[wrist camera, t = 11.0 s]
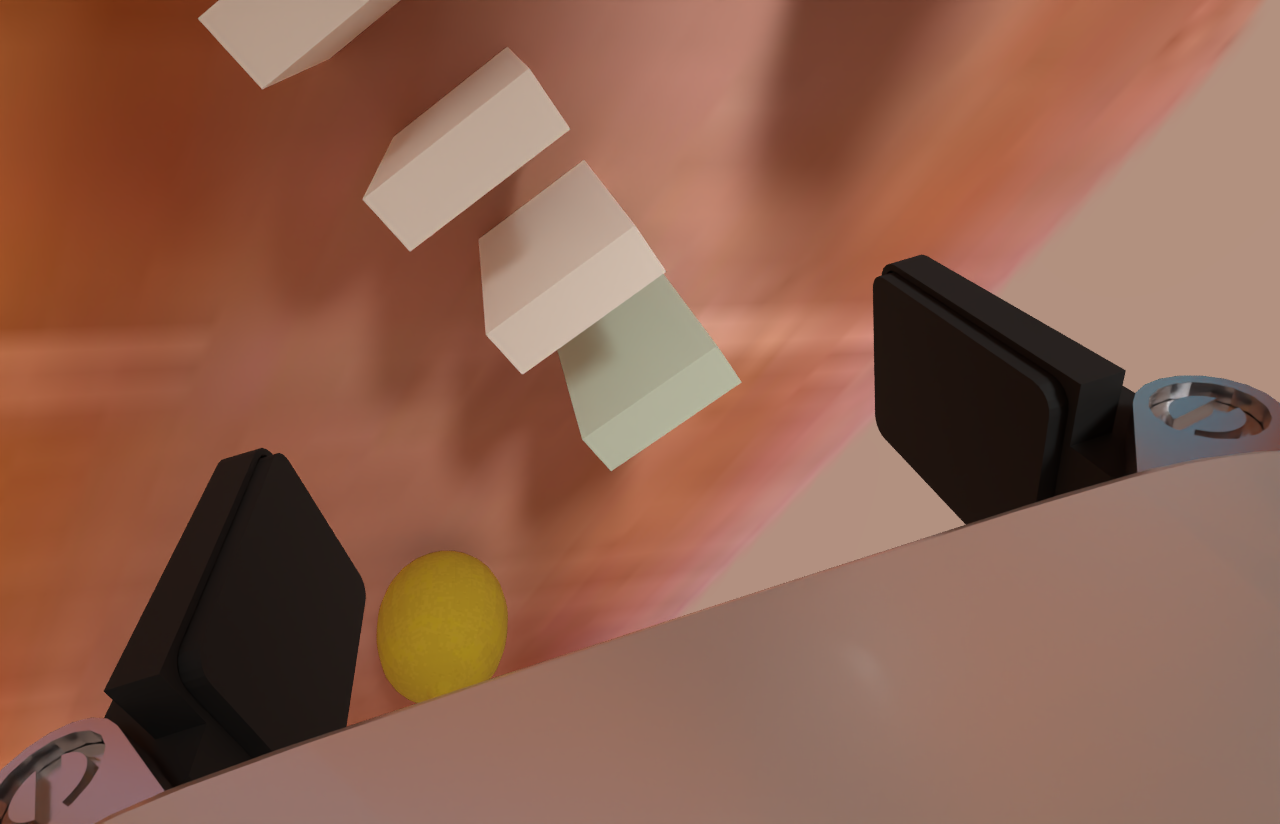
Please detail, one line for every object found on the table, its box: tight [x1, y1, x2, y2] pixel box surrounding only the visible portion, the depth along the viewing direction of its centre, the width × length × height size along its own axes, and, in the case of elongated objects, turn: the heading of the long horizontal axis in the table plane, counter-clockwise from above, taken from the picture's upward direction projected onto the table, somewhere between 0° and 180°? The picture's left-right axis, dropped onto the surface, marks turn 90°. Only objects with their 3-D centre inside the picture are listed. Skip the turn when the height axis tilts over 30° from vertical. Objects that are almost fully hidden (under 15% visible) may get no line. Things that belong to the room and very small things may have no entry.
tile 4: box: [479, 160, 666, 375], centre depth 23 cm, size 2×5×9 cm, turn 124°
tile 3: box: [362, 47, 570, 251], centre depth 20 cm, size 2×5×9 cm, turn 124°
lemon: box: [377, 551, 508, 703], centre depth 30 cm, size 6×6×8 cm
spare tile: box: [557, 274, 741, 471], centre depth 25 cm, size 2×5×9 cm, turn 124°
